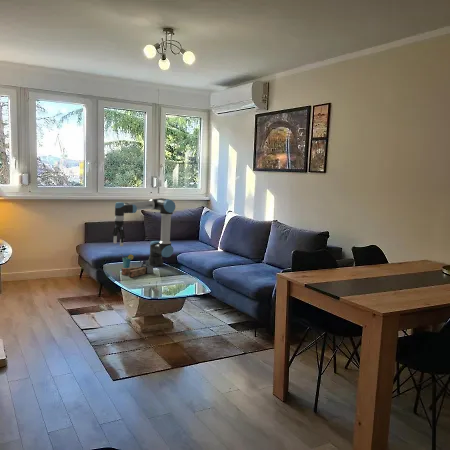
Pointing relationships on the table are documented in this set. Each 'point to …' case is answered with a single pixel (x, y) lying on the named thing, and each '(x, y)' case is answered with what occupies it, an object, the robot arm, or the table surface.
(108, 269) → the table surface
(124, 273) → the base
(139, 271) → the hinged jaw
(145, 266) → the collar
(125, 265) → the cup
